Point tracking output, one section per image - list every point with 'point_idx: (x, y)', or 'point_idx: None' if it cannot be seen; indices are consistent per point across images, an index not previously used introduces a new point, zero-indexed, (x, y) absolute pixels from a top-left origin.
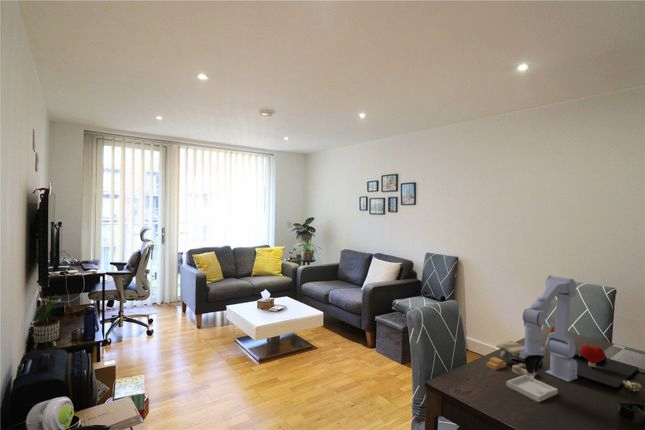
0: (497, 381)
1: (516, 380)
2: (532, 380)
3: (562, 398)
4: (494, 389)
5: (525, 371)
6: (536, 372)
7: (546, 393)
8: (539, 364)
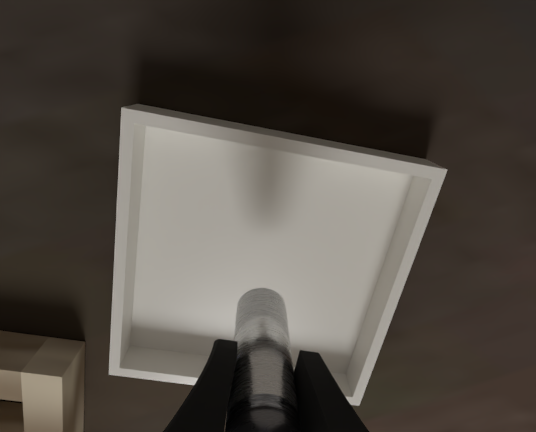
0: None
1: None
2: (280, 301)
3: (184, 43)
4: (456, 396)
5: (59, 393)
6: (223, 340)
7: (318, 148)
8: (174, 421)
